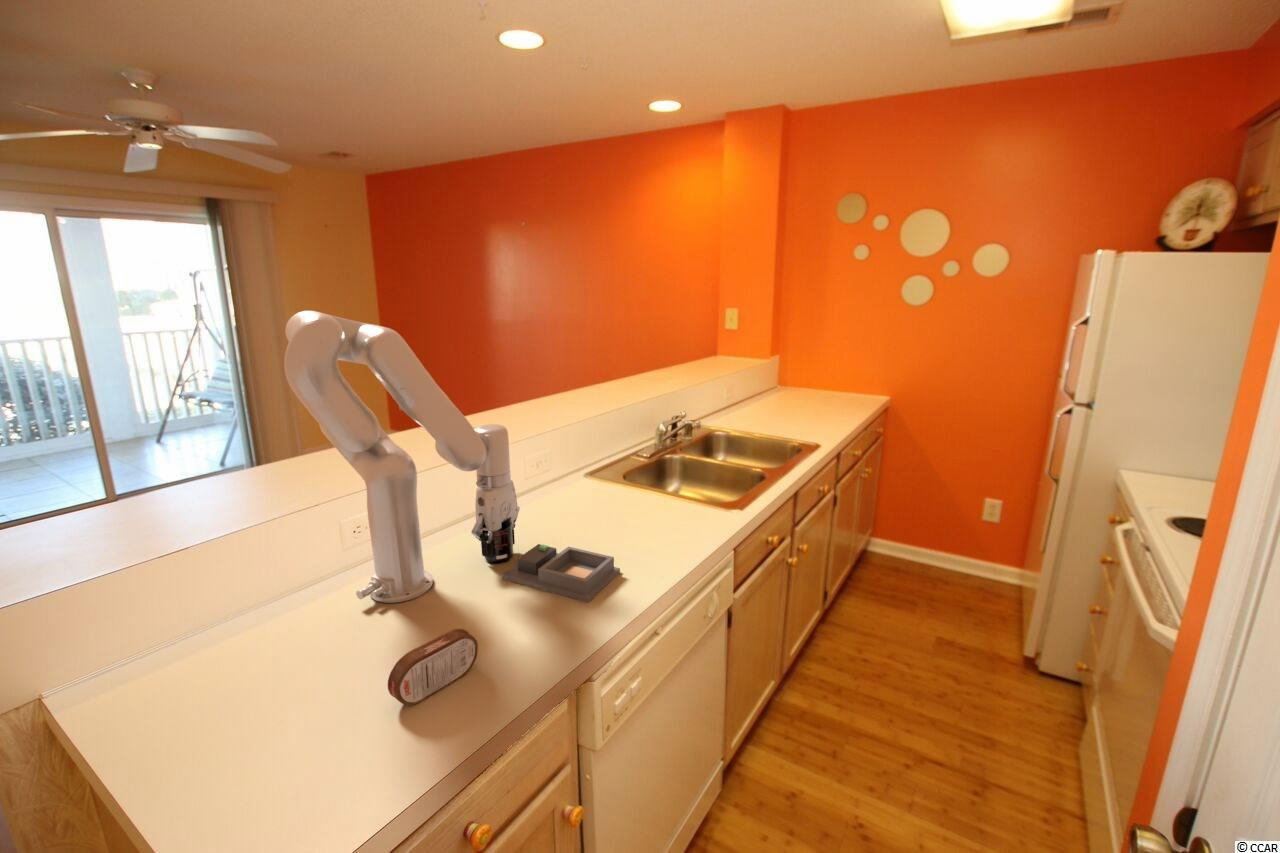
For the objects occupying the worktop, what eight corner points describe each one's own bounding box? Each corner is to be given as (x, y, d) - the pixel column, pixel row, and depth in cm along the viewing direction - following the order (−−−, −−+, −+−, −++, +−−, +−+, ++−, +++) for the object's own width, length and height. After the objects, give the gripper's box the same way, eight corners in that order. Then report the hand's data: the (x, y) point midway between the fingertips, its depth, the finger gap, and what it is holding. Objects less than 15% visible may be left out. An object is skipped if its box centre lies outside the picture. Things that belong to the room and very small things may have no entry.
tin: (471, 660, 101) (468, 618, 99) (482, 668, 100) (479, 625, 97) (389, 709, 90) (383, 662, 88) (399, 718, 88) (394, 670, 86)
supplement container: (508, 549, 143) (505, 509, 140) (518, 560, 137) (515, 519, 134) (481, 555, 139) (478, 515, 137) (489, 567, 134) (486, 525, 131)
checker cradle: (588, 602, 119) (587, 582, 118) (502, 578, 129) (501, 560, 127) (620, 572, 132) (619, 553, 130) (539, 552, 141) (538, 535, 140)
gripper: (481, 493, 124) (486, 569, 128) (530, 469, 139) (533, 538, 144) (454, 488, 127) (460, 562, 132) (505, 465, 142) (509, 532, 147)
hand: (498, 549), depth 138 cm, fingers closed on supplement container, 6 cm apart
